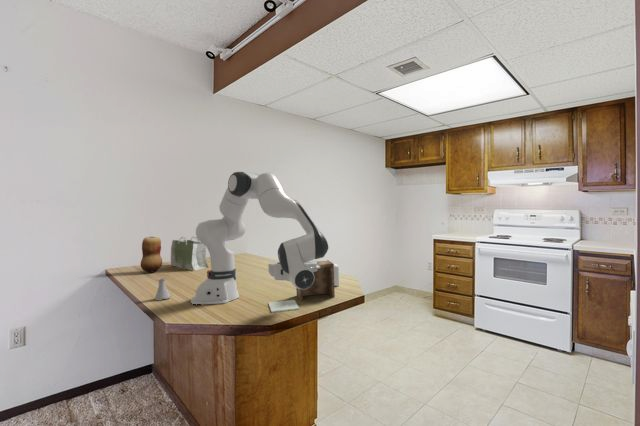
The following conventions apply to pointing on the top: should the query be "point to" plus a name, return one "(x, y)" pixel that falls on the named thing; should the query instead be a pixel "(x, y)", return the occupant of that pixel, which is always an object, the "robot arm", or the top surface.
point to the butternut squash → (151, 254)
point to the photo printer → (336, 275)
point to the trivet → (283, 306)
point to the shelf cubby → (320, 281)
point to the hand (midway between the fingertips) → (290, 263)
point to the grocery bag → (188, 254)
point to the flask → (162, 290)
